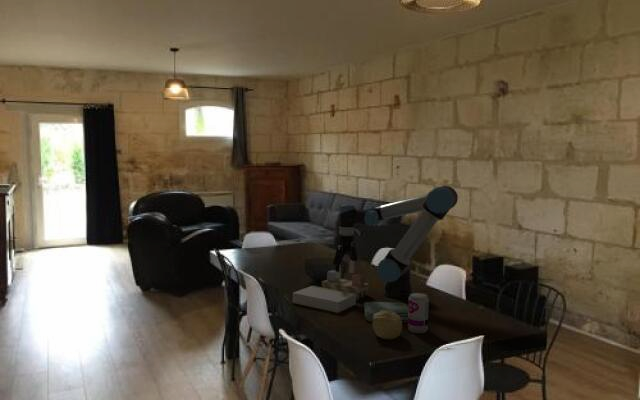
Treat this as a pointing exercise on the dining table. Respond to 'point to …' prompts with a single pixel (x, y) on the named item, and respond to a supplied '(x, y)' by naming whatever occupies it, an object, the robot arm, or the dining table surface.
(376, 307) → the towel
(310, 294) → the dock
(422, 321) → the supplement can
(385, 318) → the tan round ball
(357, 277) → the block
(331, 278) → the grey cube
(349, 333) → the dining table surface
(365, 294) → the board
